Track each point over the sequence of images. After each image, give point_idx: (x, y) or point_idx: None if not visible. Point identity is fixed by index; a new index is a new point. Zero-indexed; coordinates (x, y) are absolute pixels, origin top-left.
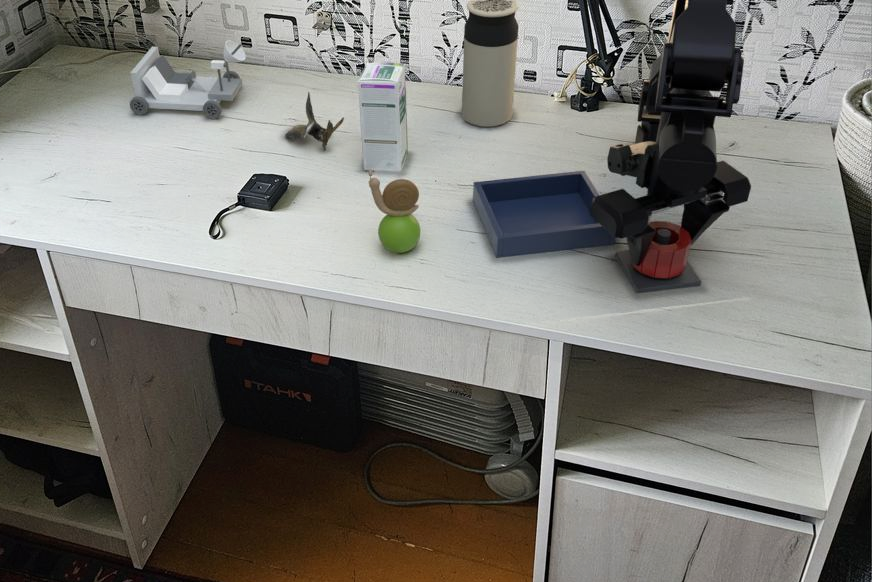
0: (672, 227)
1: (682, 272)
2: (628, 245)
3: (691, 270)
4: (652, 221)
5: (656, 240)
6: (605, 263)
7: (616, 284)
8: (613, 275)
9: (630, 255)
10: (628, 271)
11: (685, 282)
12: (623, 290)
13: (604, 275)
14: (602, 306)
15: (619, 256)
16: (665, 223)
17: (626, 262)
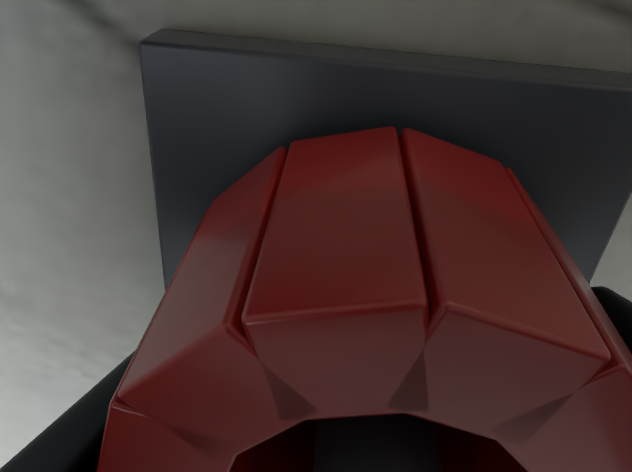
0: (575, 457)
1: None
2: (38, 442)
3: None
4: (414, 308)
5: (313, 469)
6: (81, 77)
7: (111, 275)
8: (110, 206)
9: (239, 131)
10: (169, 278)
11: None
12: (137, 321)
13: (55, 192)
14: (17, 378)
15: (152, 120)
16: (557, 384)
17: (183, 198)
